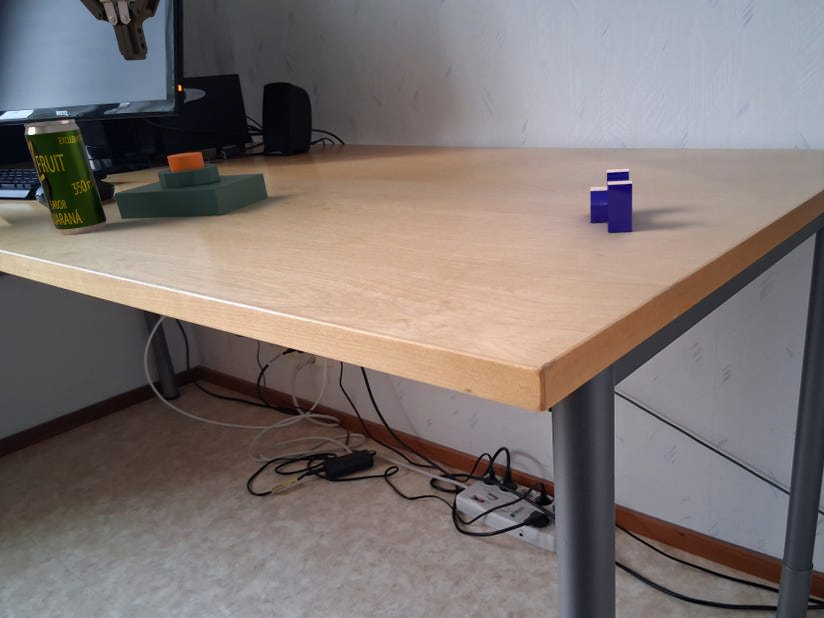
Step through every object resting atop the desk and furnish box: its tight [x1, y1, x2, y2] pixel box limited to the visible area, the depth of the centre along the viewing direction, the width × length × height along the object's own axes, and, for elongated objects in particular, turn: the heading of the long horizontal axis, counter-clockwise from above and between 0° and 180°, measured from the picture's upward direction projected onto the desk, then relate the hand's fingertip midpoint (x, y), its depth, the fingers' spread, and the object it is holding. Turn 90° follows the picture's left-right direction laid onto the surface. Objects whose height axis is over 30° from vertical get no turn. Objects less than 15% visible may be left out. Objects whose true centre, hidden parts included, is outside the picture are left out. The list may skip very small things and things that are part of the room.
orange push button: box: [166, 151, 205, 171], centre depth 86 cm, size 4×4×2 cm
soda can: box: [23, 118, 108, 236], centre depth 78 cm, size 5×5×12 cm
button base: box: [114, 163, 269, 220], centre depth 88 cm, size 14×11×5 cm
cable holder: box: [589, 168, 633, 233], centre depth 62 cm, size 8×4×4 cm, turn 171°
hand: (135, 59), depth 83 cm, fingers closed
